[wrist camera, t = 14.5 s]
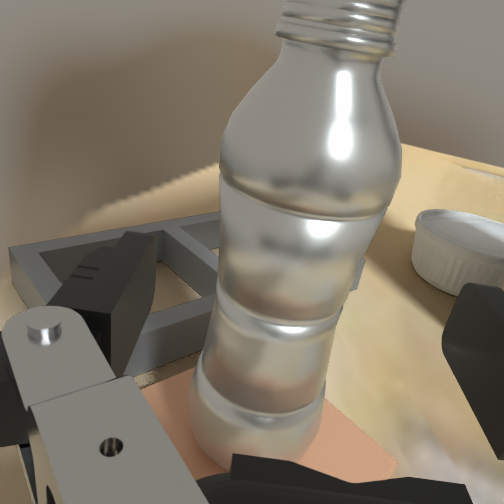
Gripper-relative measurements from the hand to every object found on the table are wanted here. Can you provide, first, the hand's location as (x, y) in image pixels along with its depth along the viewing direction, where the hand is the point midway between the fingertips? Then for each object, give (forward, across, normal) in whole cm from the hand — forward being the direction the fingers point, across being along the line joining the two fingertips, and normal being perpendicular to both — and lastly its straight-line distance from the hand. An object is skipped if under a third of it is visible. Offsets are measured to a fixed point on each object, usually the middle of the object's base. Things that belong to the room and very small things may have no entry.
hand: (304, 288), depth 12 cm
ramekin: (+30, -20, +14) cm, 39 cm away
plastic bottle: (+6, 0, +13) cm, 14 cm away
